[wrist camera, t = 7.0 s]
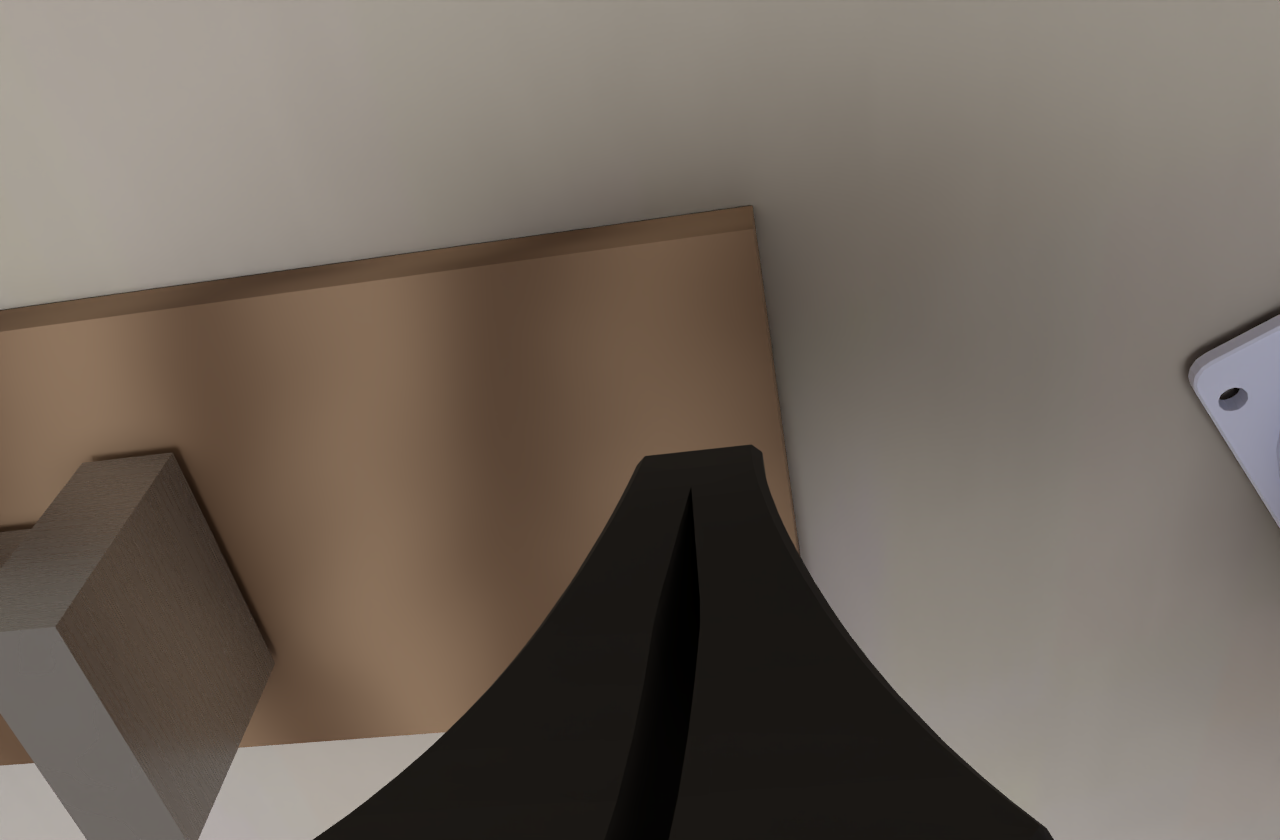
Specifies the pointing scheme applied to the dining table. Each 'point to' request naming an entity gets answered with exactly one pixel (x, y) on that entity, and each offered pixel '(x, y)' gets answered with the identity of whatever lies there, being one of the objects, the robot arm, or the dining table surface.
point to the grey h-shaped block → (127, 651)
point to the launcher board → (404, 439)
